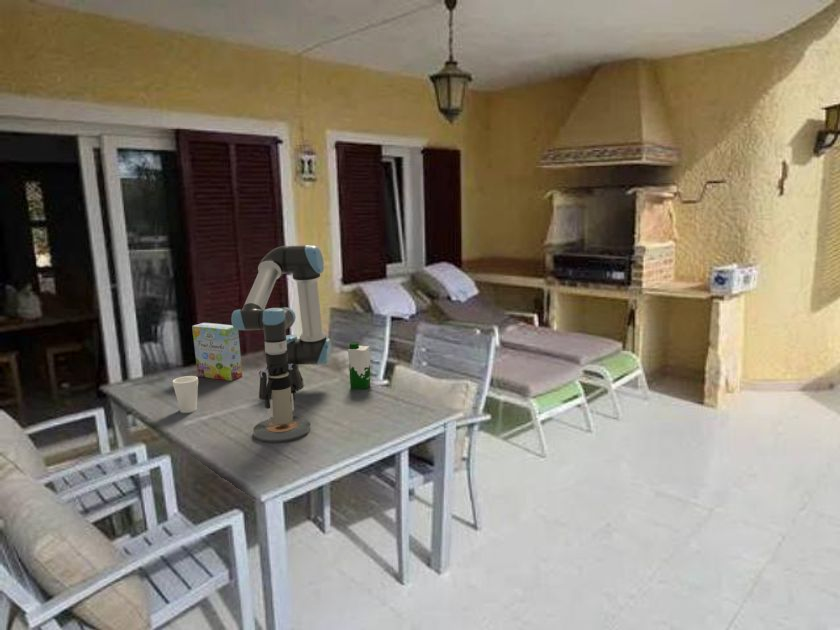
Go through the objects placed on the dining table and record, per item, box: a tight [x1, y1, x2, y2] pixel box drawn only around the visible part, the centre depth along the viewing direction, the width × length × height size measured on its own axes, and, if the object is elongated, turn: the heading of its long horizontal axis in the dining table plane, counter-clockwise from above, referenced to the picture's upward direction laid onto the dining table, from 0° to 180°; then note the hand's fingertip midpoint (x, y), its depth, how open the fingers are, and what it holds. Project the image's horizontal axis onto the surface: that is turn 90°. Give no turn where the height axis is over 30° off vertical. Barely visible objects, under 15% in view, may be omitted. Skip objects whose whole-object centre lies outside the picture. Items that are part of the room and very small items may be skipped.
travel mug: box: [267, 371, 294, 425], centre depth 202 cm, size 8×8×18 cm
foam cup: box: [172, 375, 199, 414], centre depth 227 cm, size 10×9×13 cm
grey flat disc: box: [252, 415, 311, 444], centre depth 204 cm, size 20×20×2 cm
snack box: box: [191, 322, 243, 382], centre depth 270 cm, size 22×9×26 cm, turn 67°
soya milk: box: [347, 342, 371, 390], centre depth 251 cm, size 9×9×20 cm
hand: (280, 412), depth 203 cm, fingers closed on travel mug, 8 cm apart
